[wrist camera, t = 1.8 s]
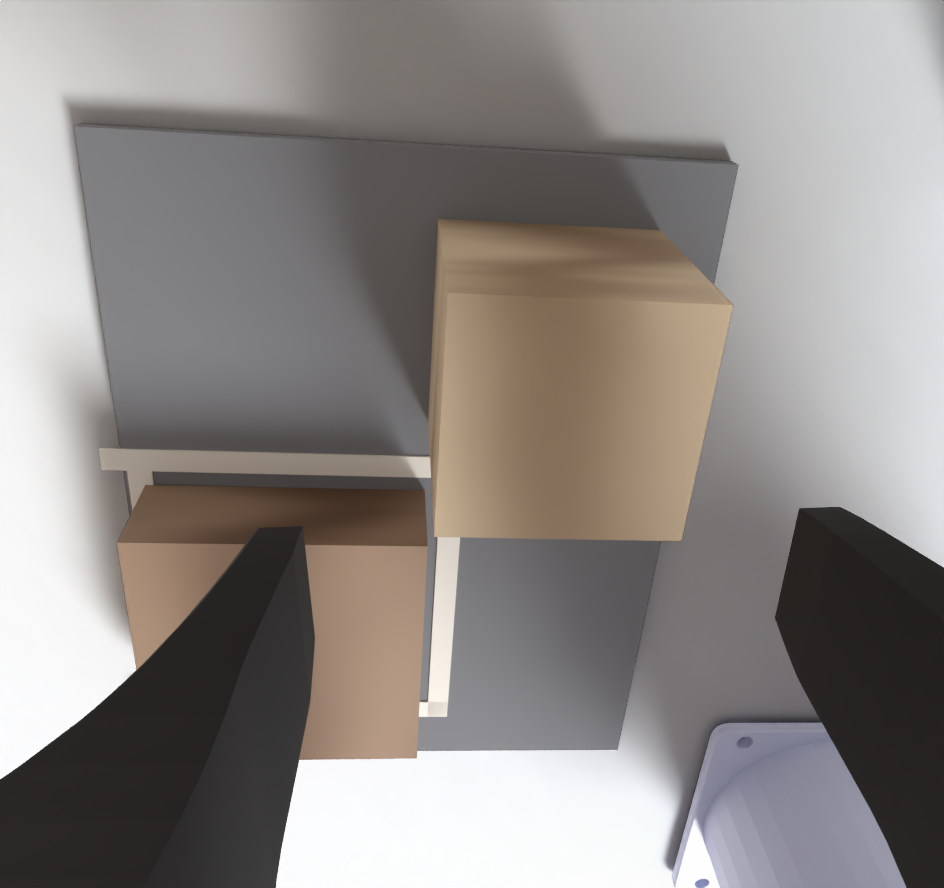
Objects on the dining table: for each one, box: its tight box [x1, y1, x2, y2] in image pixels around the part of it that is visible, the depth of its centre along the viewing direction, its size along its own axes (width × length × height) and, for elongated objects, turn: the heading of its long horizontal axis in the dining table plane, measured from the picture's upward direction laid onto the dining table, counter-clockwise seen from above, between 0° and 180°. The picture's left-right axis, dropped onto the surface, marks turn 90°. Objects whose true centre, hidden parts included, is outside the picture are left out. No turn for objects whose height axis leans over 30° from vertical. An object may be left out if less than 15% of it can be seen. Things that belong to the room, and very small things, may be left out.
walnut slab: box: [117, 485, 428, 760], centre depth 23 cm, size 7×7×2 cm
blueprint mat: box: [74, 123, 738, 751], centre depth 23 cm, size 14×18×1 cm
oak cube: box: [428, 219, 733, 541], centre depth 18 cm, size 5×5×5 cm
